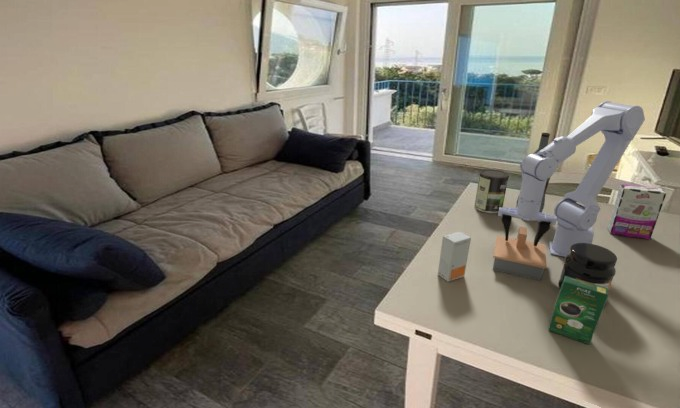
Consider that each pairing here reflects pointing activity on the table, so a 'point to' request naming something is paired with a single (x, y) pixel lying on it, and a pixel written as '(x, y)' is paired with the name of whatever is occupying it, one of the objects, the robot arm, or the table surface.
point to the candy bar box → (636, 211)
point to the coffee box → (578, 309)
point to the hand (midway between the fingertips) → (520, 241)
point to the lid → (520, 250)
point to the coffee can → (491, 190)
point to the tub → (518, 269)
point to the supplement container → (589, 264)
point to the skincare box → (454, 256)
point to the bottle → (542, 145)
